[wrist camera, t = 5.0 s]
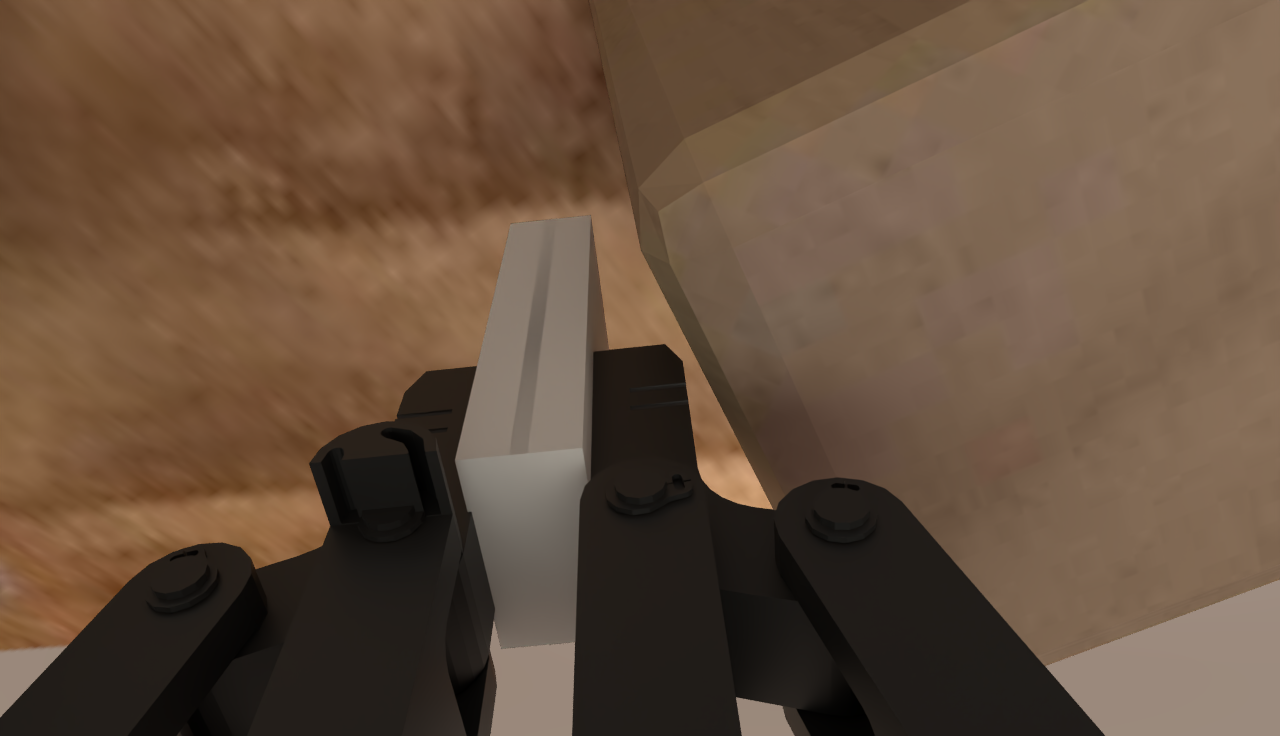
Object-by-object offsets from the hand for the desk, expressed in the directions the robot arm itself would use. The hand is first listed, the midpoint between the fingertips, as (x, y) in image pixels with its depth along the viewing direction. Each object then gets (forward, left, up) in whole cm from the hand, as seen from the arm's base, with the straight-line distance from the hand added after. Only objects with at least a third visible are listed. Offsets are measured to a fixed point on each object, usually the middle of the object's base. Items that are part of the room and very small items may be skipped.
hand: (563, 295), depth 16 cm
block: (+7, 0, -15) cm, 17 cm away
